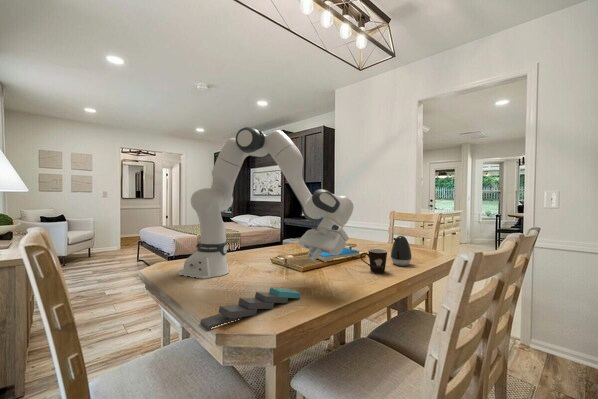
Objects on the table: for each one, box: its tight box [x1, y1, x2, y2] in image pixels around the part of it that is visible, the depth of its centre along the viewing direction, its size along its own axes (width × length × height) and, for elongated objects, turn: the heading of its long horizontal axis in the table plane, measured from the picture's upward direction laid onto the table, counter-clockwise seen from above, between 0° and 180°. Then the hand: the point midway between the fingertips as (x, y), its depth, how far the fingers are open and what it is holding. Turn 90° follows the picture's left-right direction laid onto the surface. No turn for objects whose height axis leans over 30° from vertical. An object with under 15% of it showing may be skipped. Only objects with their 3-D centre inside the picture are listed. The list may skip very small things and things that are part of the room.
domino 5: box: [268, 287, 302, 299], centre depth 94 cm, size 2×5×10 cm
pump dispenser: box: [390, 235, 413, 267], centre depth 142 cm, size 10×10×15 cm
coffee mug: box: [359, 248, 388, 275], centre depth 130 cm, size 12×9×10 cm
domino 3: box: [237, 297, 275, 310], centre depth 85 cm, size 2×5×10 cm
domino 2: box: [218, 303, 258, 319], centre depth 80 cm, size 2×5×10 cm
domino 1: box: [200, 313, 242, 331], centre depth 78 cm, size 2×5×10 cm
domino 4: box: [254, 291, 289, 304], centre depth 90 cm, size 2×5×10 cm
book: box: [307, 247, 360, 260], centre depth 159 cm, size 17×4×25 cm
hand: (310, 259), depth 101 cm, fingers closed
